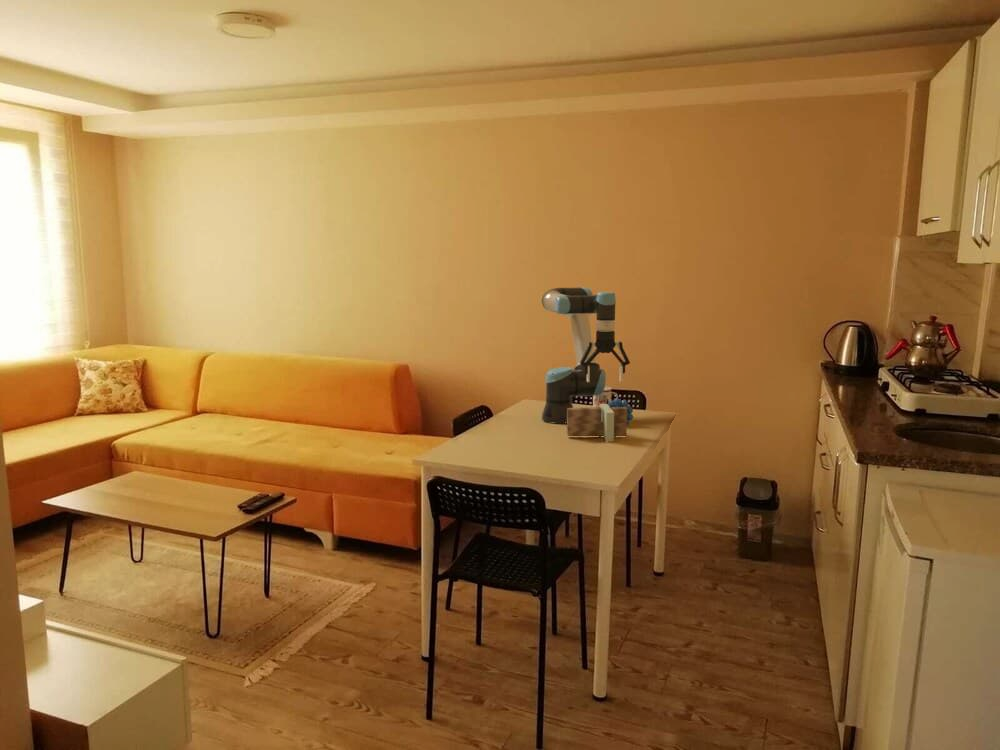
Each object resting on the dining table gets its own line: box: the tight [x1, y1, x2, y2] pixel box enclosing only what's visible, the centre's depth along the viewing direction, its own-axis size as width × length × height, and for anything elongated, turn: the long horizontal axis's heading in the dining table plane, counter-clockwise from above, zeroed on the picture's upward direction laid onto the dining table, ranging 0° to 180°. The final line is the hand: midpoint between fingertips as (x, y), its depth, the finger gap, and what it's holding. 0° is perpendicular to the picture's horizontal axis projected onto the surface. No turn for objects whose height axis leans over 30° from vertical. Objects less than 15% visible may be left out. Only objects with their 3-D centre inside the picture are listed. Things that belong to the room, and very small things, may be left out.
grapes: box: [609, 397, 634, 426], centre depth 315 cm, size 12×7×12 cm, turn 71°
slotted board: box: [566, 407, 628, 437], centre depth 296 cm, size 24×3×12 cm, turn 92°
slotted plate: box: [600, 404, 615, 442], centre depth 297 cm, size 16×3×12 cm, turn 2°
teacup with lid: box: [592, 384, 619, 408], centre depth 351 cm, size 12×9×12 cm
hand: (604, 381), depth 300 cm, fingers open, 13 cm apart
